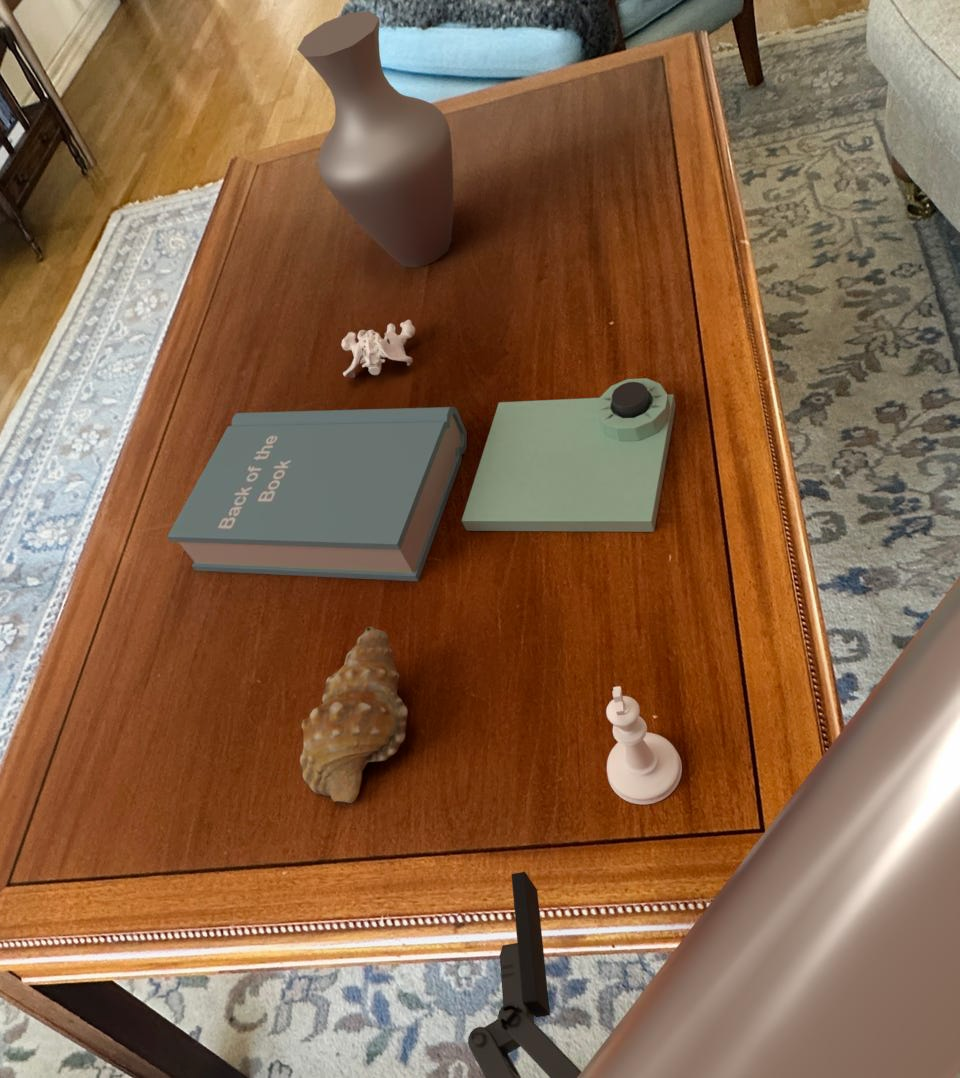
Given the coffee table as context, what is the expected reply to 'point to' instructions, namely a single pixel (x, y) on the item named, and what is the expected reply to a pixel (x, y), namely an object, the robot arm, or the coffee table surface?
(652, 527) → the scale
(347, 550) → the book
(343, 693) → the seashell
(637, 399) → the button
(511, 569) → the coffee table surface
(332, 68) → the vase
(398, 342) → the pelvis model
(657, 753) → the chess piece
